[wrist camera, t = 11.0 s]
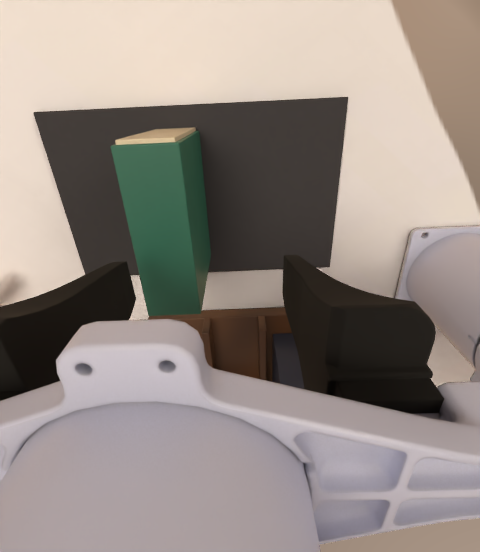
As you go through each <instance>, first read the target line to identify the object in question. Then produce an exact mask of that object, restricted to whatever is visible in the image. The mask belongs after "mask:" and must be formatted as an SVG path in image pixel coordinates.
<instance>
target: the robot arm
mask: <svg viewBox="0 0 480 552" xmlns="http://www.w3.org/2000/svg"><path fill="white" fill-rule="evenodd" d="M425 232H426V234H425V235H424V236H423V237H422V234H423V233H425ZM135 300H136V297H135V293H134V289H133V285H132V281H131V276H130V272H129V268H128V264H127V261H122V262H112V263H109V264H106V265H104V266H102V267H100V268H98V269H96V270H94V271H92V272H90V273H88V274H86V275H84V276H82V277H80V278H78V279H76V280H74V281H72V282H70V283H68V284H65V285H63V286H61V287H59V288H57V289H54V290H52V291H49V292H47V293H44V294H42V295H39V296H36V297H33V298H30V299H27V300H23V301H20V302H17V303H14V304H10V305H6V306H2V307H0V552H321V550H320V545H319V544H325V543H330V542H336V541H341V540H346V539H352V538H357V537H362V536H367V535H373V534H379V533H384V532H390V531H395V530H400V529H406V528H411V527H417V526H423V525H429V524H435V523H441V522H447V521H457V520H467V519H476V518H480V225H476V226H453V227H430V228H416V229H414V230H412V231H411V233H410V235H409V240H408V244H407V248H406V252H405V257H404V261H403V265H402V269H401V274H400V278H399V282H398V286H397V291H396V295H395V298H389V297H384V296H380V295H375V294H372V293H368V292H365V291H362V290H359V289H356V288H353V287H351V286H348V285H346V284H344V283H341V282H339V281H337V280H335V279H333V278H331V277H330V276H328V275H326V274H325V273H323V272H321V271H320V270H318V269H317V268H315V267H314V266H313V265H311V264H310V263H308V262H307V261H306V260H304V259H303V258H302V257H300V256H299V255H284V263H283V300H284V306H285V312H286V315H287V318H288V321H289V325H290V328H291V331H292V334H293V337H294V341H295V344H296V347H297V351H298V355H299V360H300V366H301V371H302V377H303V383H304V389H301V388H296V387H292V386H288V385H283V384H279V383H274V382H270V381H266V380H261V379H257V378H253V377H248V376H244V375H240V374H235V373H231V372H226V371H222V370H218V369H214V368H212V367H211V366H209V365H208V363H207V361H206V358H205V352H204V344H203V341H202V339H201V337H200V335H199V333H198V331H197V330H196V329H194V328H193V327H191V326H190V325H188V324H187V323H185V322H182V321H177V320H171V319H152V320H129V318H130V316H131V313H132V310H133V307H134V304H135ZM434 325H435V326H436V327H437V328H438V329H439V330H440V331H441V332H442V333H443V335H444V336H445V337H446V338H447V339H448V340H449V341H450V342H451V343H452V344H453V345H454V347H455V348H456V349H457V350H458V351H459V352H460V353H461V354H462V355H463V356H464V358H465V359H466V360H467V361H468V362H469V363H470V364H471V365H472V366H473V367H474V369H475V372H474V374H473V375H472V377H471V378H470V380H471V381H472V382H448V383H444V384H442V385H440V386H438V388H436V386H435V385H434V383H433V382H432V380H431V379H430V378H432V376H433V373H432V371H431V369H430V368H429V367H428V365H427V362H428V359H429V356H430V353H431V350H432V347H433V344H434V340H435V334H436V331H435V326H434Z"/></svg>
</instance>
